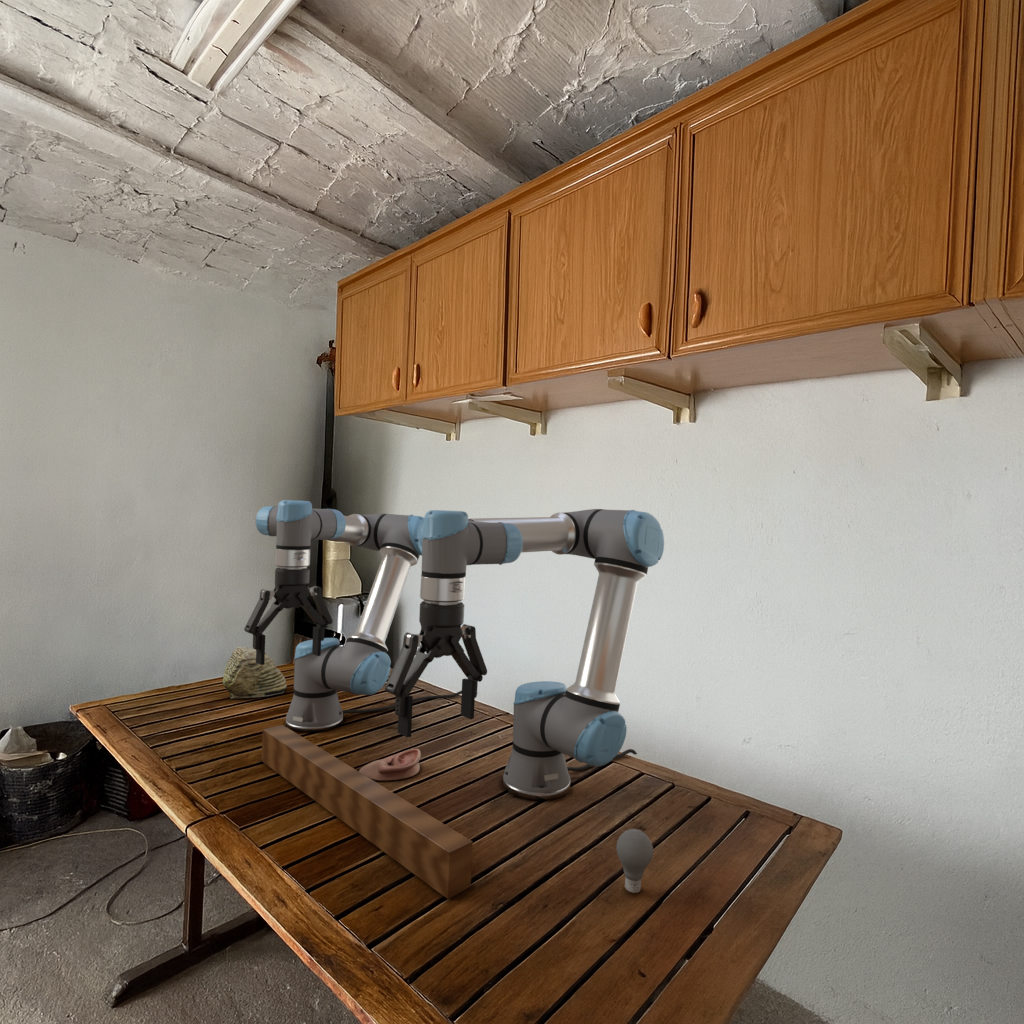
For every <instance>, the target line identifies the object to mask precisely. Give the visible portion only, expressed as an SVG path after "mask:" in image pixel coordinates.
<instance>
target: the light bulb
mask: <svg viewBox="0 0 1024 1024" xmlns="http://www.w3.org/2000/svg"><path fill="white" fill-rule="evenodd" d="M615 849H616V854H617V857H618V859H619V861H620V863H621V865H622V867H623V873H624V874H623V875H624V876H625V878H624V888H625V890H627V891H628V892H630V893H634V894H635V893H639V892H640V891H641V889H642V887H641V886H642V879H643V877H644V875H645V871H646V868H647V867H648V866H649V864H650V863H651V861H652V859H653V855H654V847H653V843H652V841H651V838H649V836H648V835H647V834H646V833H645V832H643V831H642V830H641V829H636V828H629V829H627V830H625V831H623V832H622V833H621V834H620V835H619V837H618V839H617V841H616V847H615Z"/></svg>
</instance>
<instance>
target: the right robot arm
mask: <svg viewBox="0 0 1024 1024" xmlns="http://www.w3.org/2000/svg"><path fill="white" fill-rule="evenodd" d="M423 518H424V523H423V526H422V528H421V530H420V536H419V538H420V544H421V546H422V556H421V574H420V589H419V598H420V599H421V600H423V601H421V602H420V604H419V616H418V617H419V618H418V620H419V624H420V631H419V633H412V632H405V633H404V635H403V641H402V646H401V649H400V651H399V654H398V656H397V659H396V661H395V663H394V666H393V667H392V670H391V671H390V674H389V677H388V679H387V681H386V683H385V685H384V691H385V692H386V693H388V694H390V695H393V696H394V697H395V699H394V700H395V701H394V705H395V708H394V714H395V716H397V734H399V735H401V736H403V737H405V738H410V737H412V729H413V728H412V727H413V726H412V724H413V704H414V702H413V699H414V697H413V696H412V695H410V693H411V692H412V690H413V689H414V687H415V685H416V684H417V682H418V681H419V679H420V678H421V675H422V674H424V671H425V670H426V668H427V667H428V665H429V664H430V663H432V662H433V661H434V659H440V658H442V657H444V656H445V657H450V656H451V657H452V659H453V660H454V661H455V663H456V665H457V666H458V667H459V668H460V670H461V671H462V673H463V675H464V676H465V677H466V678H462V680H461V691H462V694H461V700H460V701H461V702H460V716H461V717H464V718H466V719H468V720H473V719H475V704H476V703H475V702H476V698H477V696H478V685H479V683H481V682H482V681H483V679H484V677H483V676H487V674H488V668H487V666H486V663H485V660H484V657H483V654H482V651H481V648H480V646H479V643H478V640H477V631H476V627H475V626H473V625H470V624H466V623H464V622H465V604H464V603H463V602H462V601H464V599H465V596H466V575H467V566H475V565H479V566H480V565H498V566H499V565H500V566H501V565H505V564H511V563H514V562H516V561H517V560H518V559H519V557H520V556H521V554H522V553H536V552H537V553H538V552H552V553H554V554H555V555H558V556H559V555H571V556H578V557H584V558H587V559H588V558H589V559H593V560H594V562H593V566H594V567H595V569H596V571H597V572H598V577H597V580H596V585H595V590H594V595H593V600H592V604H591V609H590V613H589V618H588V623H587V626H586V632H585V636H584V640H583V646H582V650H581V655H580V659H579V662H578V663H579V664H578V668H577V673H576V677H575V681H574V683H572V684H570V686H568V687H567V686H566V684H565V683H563V682H560V681H549V680H542V681H541V680H540V681H539V680H538V681H531V682H526V683H523V684H520V685H519V686H517V688H516V689H515V692H514V700H513V701H514V702H513V718H512V748H511V752H510V754H509V758H508V760H507V763H506V766H505V769H504V771H503V774H502V786H503V787H504V789H505V791H507V792H509V793H510V794H511V795H513V796H516V797H518V798H522V799H527V800H532V801H549V800H550V801H551V800H555V799H559V798H562V797H563V796H566V794H568V793H569V792H570V789H571V776H570V773H569V771H570V772H581V771H584V770H588V769H590V768H592V767H602V766H605V765H607V764H609V763H610V762H611V761H613V760H616V759H619V758H623V757H624V756H626V755H628V754H630V753H631V754H633V755H637V754H638V752H637V751H636V750H635V749H633V748H629V749H626V750H623V751H622V752H621V749H622V748H623V746H624V744H625V741H626V740H625V739H626V737H627V730H628V729H627V724H626V719H625V717H624V716H623V715H622V714H621V713H620V711H619V710H620V706H621V701H620V700H619V698H618V696H617V694H616V689H617V684H618V680H619V676H620V670H621V666H622V660H623V655H624V650H625V647H626V641H627V637H628V633H629V627H630V623H631V617H632V612H633V608H634V603H635V597H636V593H637V590H638V585H639V582H640V581H642V580H643V579H645V578H646V577H647V576H648V570H649V568H652V567H654V566H656V565H657V564H658V563H659V561H660V560H661V559H662V558H663V557H662V556H663V555H664V550H665V535H664V531H663V529H662V527H661V523H660V522H659V520H658V519H657V518H656V517H655V516H654V515H653V514H651V513H649V512H646V511H639V510H635V509H630V510H629V509H628V510H627V509H603V508H590V509H583V510H576V511H575V510H574V511H567V512H566V511H565V512H555V513H553V514H551V516H541V517H538V516H537V517H535V516H533V517H487V518H486V517H485V518H481V517H479V518H469V515H468V513H467V512H466V511H463V510H443V509H431V510H428V511H427V512H426V513H425V514H424V517H423ZM461 640H462V643H463V645H464V648H465V649H464V648H463V646H462V645H461V643H460V641H461ZM465 651H466V653H465ZM478 682H479V683H478ZM565 755H566V756H568V757H570V758H572V759H575V760H576V761H578V762H579V763H582V764H584V765H582V766H567V761H566V758H565Z"/></svg>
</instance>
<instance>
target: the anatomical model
mask: <svg viewBox="0 0 1024 1024" xmlns="http://www.w3.org/2000/svg"><path fill="white" fill-rule="evenodd" d="M421 756H422V754H421V750H420V749H419V748H412V749H408V750H404V751H402V752H398V753H396V754H393V755H391V756H388V757H384V758H382V759H377V760H373V761H371V762H369V763H367V764H365V765H363V766H362V767H361V768H360V769H359V770H358V771H359V772H360V773H362V774H363V775H365V776H367V777H368V778H370V779H372V780H373V781H379V782H380V781H381V782H382V781H397V780H403V779H407V778H410V777H413V776H415V775H417V774H418V773H419V771H420V768H421V766H420V763H419V762H420V760H421Z"/></svg>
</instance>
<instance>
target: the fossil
mask: <svg viewBox="0 0 1024 1024" xmlns="http://www.w3.org/2000/svg"><path fill="white" fill-rule="evenodd" d="M222 676H223V677H222V685H223V687H224V688H225V690H226V691H228V693H229V698H230V699H250V698H264V697H271V696H275V695H281V694H284V693H285V691H286V689H287V687H288V686H287V680H286V678H285V676H284V674H283V673H282V672H281V669H279V668H278V667H277V665H276V663H275V662H274V660H273V659H272V658H271V657H270V656H269V655H268V654H267V653H266V652H265V661H264V665H260V664H258V663H256V650H255V649H253V648H251V647H247V646H246V647H245V646H238V647H237V648H236V649H235V650H233V651H232V653H231V656H230V657H229V659H228V660H227V663H226V666H225V668H224V671H223V675H222Z"/></svg>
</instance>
